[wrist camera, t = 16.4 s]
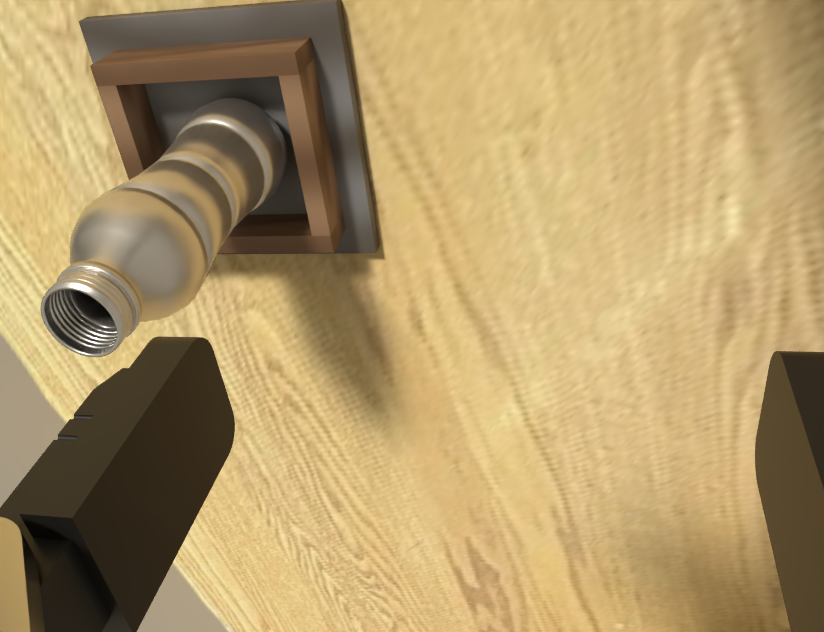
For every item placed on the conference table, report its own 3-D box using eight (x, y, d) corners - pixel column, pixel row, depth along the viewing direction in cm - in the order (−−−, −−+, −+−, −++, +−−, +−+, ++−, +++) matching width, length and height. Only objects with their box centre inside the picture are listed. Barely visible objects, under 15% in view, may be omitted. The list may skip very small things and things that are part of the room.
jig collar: (87, 16, 47) (50, 35, 44) (340, -3, 44) (320, 15, 41) (163, 247, 56) (138, 276, 53) (379, 245, 53) (365, 276, 50)
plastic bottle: (203, 181, 51) (27, 372, 35) (193, 79, 47) (-11, 242, 31) (298, 195, 51) (162, 396, 35) (296, 93, 47) (141, 267, 31)
